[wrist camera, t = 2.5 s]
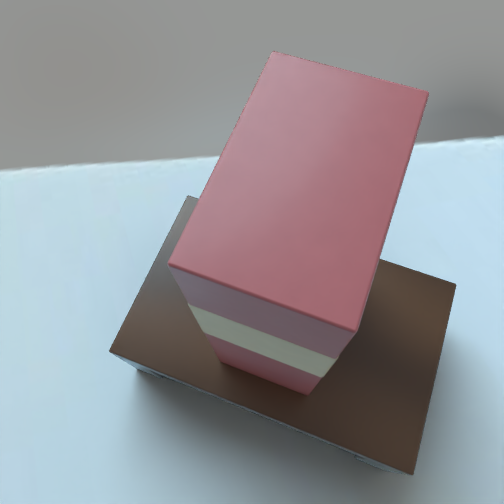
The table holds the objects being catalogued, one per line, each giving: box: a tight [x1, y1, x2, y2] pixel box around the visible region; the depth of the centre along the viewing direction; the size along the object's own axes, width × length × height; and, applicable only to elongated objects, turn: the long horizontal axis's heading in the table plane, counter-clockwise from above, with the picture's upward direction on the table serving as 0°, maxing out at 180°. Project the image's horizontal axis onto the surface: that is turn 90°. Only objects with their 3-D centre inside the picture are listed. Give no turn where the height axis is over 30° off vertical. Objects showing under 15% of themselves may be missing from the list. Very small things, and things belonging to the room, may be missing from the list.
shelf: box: [109, 196, 456, 475], centre depth 20 cm, size 8×12×4 cm, turn 69°
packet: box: [168, 51, 429, 396], centre depth 14 cm, size 6×4×10 cm, turn 159°
